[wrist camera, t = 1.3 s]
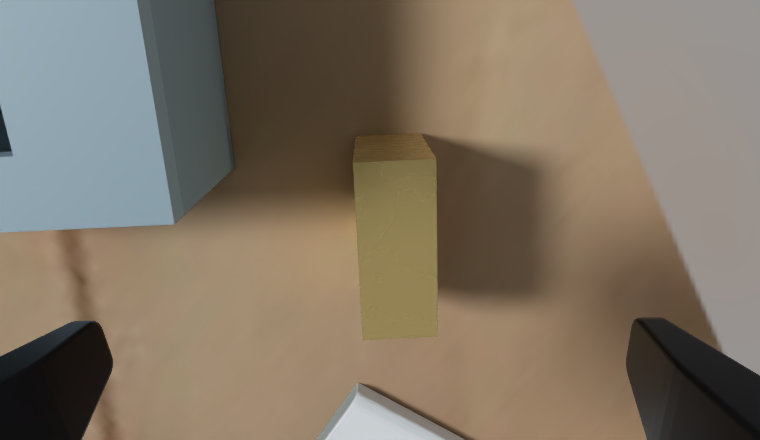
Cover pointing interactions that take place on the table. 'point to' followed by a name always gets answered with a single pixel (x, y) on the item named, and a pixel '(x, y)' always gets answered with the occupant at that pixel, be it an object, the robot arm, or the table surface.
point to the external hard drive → (379, 420)
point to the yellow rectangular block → (396, 235)
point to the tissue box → (109, 112)
